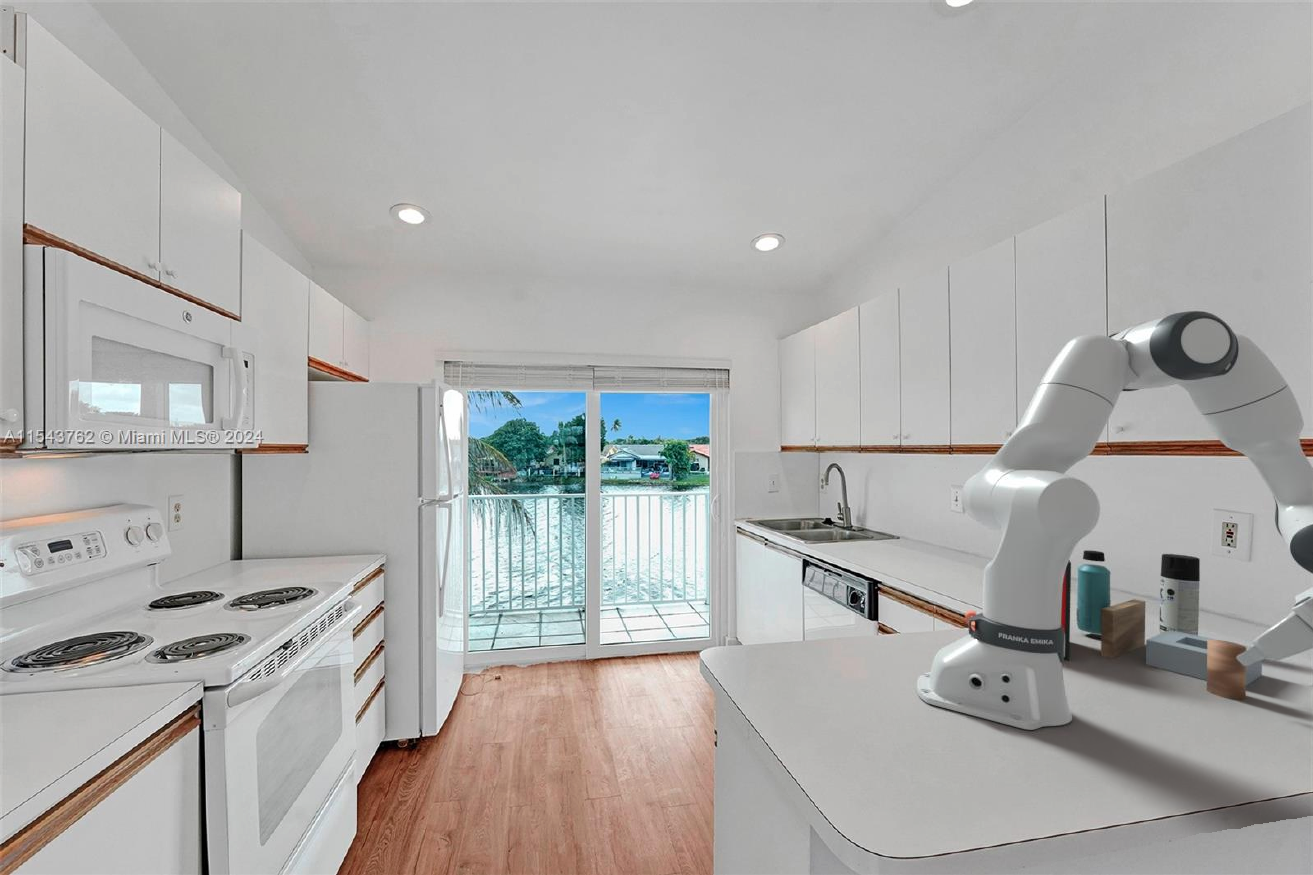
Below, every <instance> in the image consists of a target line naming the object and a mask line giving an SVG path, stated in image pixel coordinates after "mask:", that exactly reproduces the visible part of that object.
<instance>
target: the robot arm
mask: <svg viewBox="0 0 1313 875" xmlns="http://www.w3.org/2000/svg"><path fill="white" fill-rule="evenodd" d="M1174 385H1178V386H1180V387H1182V388H1183V390H1185V391H1186V392H1187V393H1188V394H1189V396H1190V399H1191V400H1192V403H1193V405H1194V406H1195V408H1196V410H1197V411H1198V413H1199V416H1200V417H1201V418H1202V420H1203V421H1204V422H1205V424H1206V425H1207V427H1208V428H1209V430H1211V432H1212V433H1213V434H1214V435H1215V436H1216V438H1217V439H1218V440H1219V441H1220V442H1221V443H1222V444H1223V445H1224V446H1225V447H1226V448H1228V449H1231V450H1233V451H1236V452H1239V453H1241V454H1243V455H1244V456H1245V457H1246V458H1247V459H1248V460H1250V462H1251V463H1252V464H1253V466H1254V467H1255V468H1256V470H1257V472H1258V475H1259V474H1260V476H1261V479H1262V480H1263V481H1264V483H1265V485H1266V487H1267V489H1269V492H1270V493H1271V495H1272V497H1273V500H1274V502H1275V513H1274V514H1275V515H1274V521H1275V527H1276V530H1277V532H1278V533H1279V535H1280V536H1281V537H1282V539H1283V541H1284V544H1285V547H1286V549H1287V551H1288V554H1290V556H1291V558H1292V560H1293V561H1294V562H1295V563H1296V564H1297V565H1299V567H1301V568H1302V569H1304V571H1307V572H1309V573H1311V574H1312V575H1313V466H1312V464H1311V462H1310V461H1309V459H1308V458H1307V456H1306V454H1305V452H1304V451H1303V448H1302V445H1301V441H1300V435H1301V432H1302V431H1303V429H1304V426H1305V424H1304V419H1303V416H1302V412H1301V408H1300V406H1299V404H1298V402H1297V399H1296V396H1295V395H1294V393H1293V390H1292V389H1291V387H1290V386H1289V384H1288V383H1287V381H1286V379H1284V377H1283V374H1281V372H1280V371H1279V369H1278V368H1277V367H1276V366H1275V365H1274V363H1273V362H1272V360H1270V358H1269V357H1268V356H1267V355H1266V354H1265V353H1264V351H1262V349H1260V348H1259V346H1258V345H1257V344H1256V343H1254V341H1252V340H1251V339H1250V338H1249V337H1248V336H1246V335H1243V334H1238V333H1235V332H1234V331H1233V329H1232V328H1231V327H1230V326H1229V324H1228V323H1226V322H1225V321H1224V320H1223V319H1221V318H1220V317H1218V316H1217V315H1215V314H1213V313H1210V312H1206V311H1200V310H1198V311H1197V310H1193V311H1190V310H1189V311H1182V312H1181V311H1180V312H1177V313H1173V314H1169V315H1168V316H1166V317H1162V318H1156V319H1153V320H1150V321H1144V322H1141V323H1138V324H1136V325H1135V324H1134V325H1133V326H1130V327H1128V328H1127V329H1124V330H1122V331H1119V332H1116V333H1112V334H1111V335H1108V336H1106V335H1102V334H1083V335H1078V336H1076V337H1074V338H1072V339H1071V340H1069V341H1067V343H1066V344H1065V345H1064V346H1063V347H1062V349H1061V350H1060V351H1059V352H1058V354H1057V355H1056V357H1055V358H1054V359H1053V360H1052V362H1051V363H1050V365H1049V367H1048V368H1047V370H1046V372H1045V373H1044V375H1043V377H1042V378H1041V380H1040V382H1039V384H1038V385H1037V388H1036V390H1035V392H1034V394H1033V397H1032V399H1031V400H1030V402H1029V405H1028V406H1027V408H1026V410H1025V412H1024V414H1023V416H1022V417H1021V420H1020V422H1019V423H1018V425H1017V426H1016V427H1015V429H1014V431H1013V432H1012V434H1011V435H1010V436H1009V438H1008V439H1007V440H1006V441H1005V443H1004V444H1003V445H1001V446H1002V447H1000V448H999V450H997V452H996V453H995V455H994V456H993V457H992V458H991V459H990V460H989V462H988V463H987V464H986V465H985V466H984V467H983V468H982V469H981V470H979V471H978V472H977V473H975V474H974V475H972V476H970V477H969V478H968V479H967V481H966V482H965V483H964V485H963V486H962V490H961V503H962V507H963V508H964V511H965V512H966V513H967V514H968V515H969V517H971V518H972V519H973V520H975V521H976V522H978V523H979V524H981V525H982V526H983V527H986V528H987V529H990V530H993V531H1000V532H1001V539H1000V542H999V545H998V548H997V551H996V553H995V555H994V557H993V559H992V560H991V561H990V562H987V564H986V566H985V567H984V569H983V571H982V572H983V573H982V574H983V575H982V577H983V581H982V582H983V584H982V612H981V613H978V614H977V612H976V611H974V610H968V611H967V612H966V613H965V615H964V616H965V621H966V622H967V623H968V634H967V635H965V636H963V637H962V638H960V639H957V640H955V641H953V642H951V643H950V644H948V645H945V646H943V647H942V648H941V649H939V650H938V651H937V652H936V654H935V656H934V658H933V661H932V664H931V669H930V671H929V672H928V671H927V672H924V673H923V674H921V675H919V677H918V678H917V681H916V694H917V695H918V696H919V698H920V699H921V700H922V701H924V702H925V703H927V704H929V705H933V706H937V707H940V708H944V709H948V710H951V711H955V712H960V713H963V714H967V715H970V716H972V717H973V716H974V717H977V718H982V719H985V720H989V721H993V722H997V723H1000V724H1004V725H1008V726H1012V727H1016V728H1018V729H1022V730H1026V731H1027V730H1028V731H1030V730H1031V731H1032V730H1033V731H1034V730H1037V729H1039V728H1043V727H1056V726H1063V725H1066V724H1069V723H1070V722H1071V721H1072V720H1073V714H1072V712H1071V710H1070V709H1071V708H1070V705H1069V702H1068V697H1067V693H1066V688H1065V680H1064V674H1063V673H1064V671H1063V662H1064V661H1065V660H1064V657H1065V633H1064V628H1063V627H1062V625H1061V609H1062V586H1063V579H1064V574H1065V570H1066V567H1067V564H1068V561H1069V560H1070V558H1071V556H1072V554H1073V553H1074V552H1073V551H1074V549H1075V547H1077V545H1078V543H1079V542H1080V541H1081V540H1082V539H1084V538H1085V537H1086V536H1088V535H1089V534H1090V533H1092V531H1093V530H1094V529H1095V528H1096V526H1097V524H1098V521H1099V518H1100V516H1101V515H1100V513H1101V506H1100V501H1099V498H1098V496H1097V493H1096V491H1094V489H1093V488H1092V487H1091V486H1090V485H1089V484H1088V483H1086V482H1084V481H1083V480H1081V479H1079V478H1076V477H1074V476H1071V475H1067V474H1065V473H1067V471H1069V469H1071V467H1073V466H1074V465H1076V464H1077V463H1079V462H1080V461H1083V460H1084V459H1085V458H1087V457H1088V456H1089V455H1090V454H1091V453H1092V452H1093V451H1094V449H1095V447H1096V445H1097V444H1098V441H1099V440H1100V437H1101V435H1102V433H1103V431H1104V429H1105V427H1106V426H1107V423H1108V421H1109V419H1110V417H1111V415H1112V412H1113V411H1114V409H1115V406H1116V404H1117V401H1118V400H1119V397H1120V395H1121V393H1122V392H1133V391H1134V392H1135V391H1138V390H1145V389H1153V388H1154V389H1156V388H1157V389H1158V388H1164V387H1165V388H1166V387H1169V386H1174ZM1294 598H1295V599H1294V600H1295V603H1294V605H1293V607H1292V608H1291V612H1289V614H1288V615H1286V616H1285V617H1284V618H1282V619H1281V620H1280V621H1278V622H1277V623H1275V624H1273V625H1272V626H1271V627H1269V628H1268V629H1267V630H1265V631H1264V632H1261V634H1260V635H1258V636H1257V637H1256V638H1254V639H1253V640H1252V644H1253V645H1254V646H1251V647H1252V648H1250V649H1249V650H1247V651H1246V652H1244V653H1242V654H1240V655H1238V656H1237V657H1236V658H1237V660H1238V661H1239V662H1240V663H1241V664H1242V665H1244V666H1248V665H1250V664H1252V663H1254V662H1257V661H1260V660H1262V661H1263V660H1265V659H1268V660H1270V661H1271V662H1275V661H1281V660H1283V659H1286V658H1287V659H1288V658H1290V657H1293V656H1295V655H1298V654H1301V653H1304V652H1307V651H1309V650H1313V586H1312V587H1309V588H1308V589H1306V590H1304V591H1302V592H1300V593H1299V594H1296V595H1295V597H1294Z"/></svg>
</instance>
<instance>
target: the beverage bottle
mask: <svg viewBox="0 0 1313 875" xmlns="http://www.w3.org/2000/svg"><path fill="white" fill-rule="evenodd" d="M1082 555H1083V556H1082V559H1083V560H1086V561H1091V562H1100V563H1101V562H1105V561H1106V560H1105V559H1106V558H1105V552H1103V551H1097V550H1090V549H1089V550H1087V549H1086V550H1083V554H1082ZM1076 593H1077V597H1076V606H1077V607H1076V626H1077V629H1078V630H1080V631H1083V632H1085V633H1091V634H1096V635H1101V628H1102V609H1103V608H1106V607H1109V606H1112V603H1111V601H1112V599H1111V570H1109V569H1108V568H1107V567H1106V566H1103V565H1098V564H1089V563H1083V564H1081V565H1080V566H1078V568H1077V592H1076Z"/></svg>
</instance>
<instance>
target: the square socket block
mask: <svg viewBox="0 0 1313 875" xmlns="http://www.w3.org/2000/svg"><path fill="white" fill-rule="evenodd" d="M1207 640H1216V638H1209V637H1206V636H1202V635H1201V636H1200V635H1198V636H1196V635H1192V634H1187V633H1182V632H1178V631H1173V630H1169V631H1167V632H1164V633H1162V634H1157V635H1155V636H1152V637H1150V638H1148V639H1145V646H1146V647H1145V648H1146V649H1145V650H1146V651H1145V665H1146V666H1150V667H1155V668H1157V669H1161V670H1165V671H1169V672H1173V673H1177V674H1181V675H1185V676H1188V677H1192V678H1197V679H1200V680H1204V681H1207ZM1242 645H1243V644H1242ZM1243 646H1245V647H1246V651H1247V650H1249V649H1250V648H1252V647H1253V646H1246V645H1243ZM1262 670H1263V660H1260V661H1257V662H1254V663H1252V664H1250V665H1248V666H1246V687H1247V686H1248V685H1250V684H1251V683H1252V682H1254V681H1256V680H1257V679H1258V678H1260V677H1261V676H1262V674H1263V671H1262Z"/></svg>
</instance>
